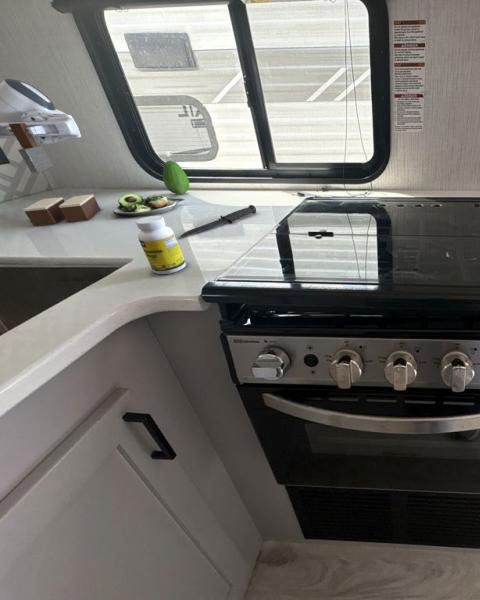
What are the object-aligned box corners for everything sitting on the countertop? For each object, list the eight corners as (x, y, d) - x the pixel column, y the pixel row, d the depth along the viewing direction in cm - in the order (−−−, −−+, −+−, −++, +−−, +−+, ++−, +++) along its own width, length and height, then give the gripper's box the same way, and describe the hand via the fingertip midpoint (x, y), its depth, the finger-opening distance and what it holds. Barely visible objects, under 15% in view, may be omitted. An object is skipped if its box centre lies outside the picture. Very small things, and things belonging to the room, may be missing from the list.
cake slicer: (40, 172, 93) (12, 124, 87) (29, 172, 93) (1, 124, 86) (55, 166, 101) (31, 121, 95) (45, 166, 100) (20, 122, 94)
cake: (88, 220, 101) (79, 203, 98) (33, 226, 96) (23, 209, 94) (100, 209, 110) (93, 194, 107) (51, 214, 106) (42, 199, 103)
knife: (250, 209, 105) (251, 202, 103) (260, 218, 104) (261, 212, 102) (170, 231, 88) (169, 224, 86) (180, 243, 87) (180, 236, 85)
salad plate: (189, 198, 120) (184, 185, 118) (183, 212, 106) (178, 197, 104) (126, 205, 114) (119, 191, 111) (111, 220, 100) (103, 205, 97)
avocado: (185, 196, 122) (173, 162, 116) (164, 196, 123) (151, 162, 116) (197, 191, 129) (186, 158, 123) (177, 191, 129) (165, 158, 123)
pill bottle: (146, 274, 70) (122, 223, 64) (169, 261, 75) (149, 213, 69) (171, 276, 68) (149, 225, 63) (193, 263, 74) (174, 215, 68)
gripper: (-10, 117, 96) (-40, 120, 86) (77, 114, 103) (59, 117, 92) (5, 141, 100) (-23, 146, 89) (87, 136, 107) (71, 141, 96)
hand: (19, 131), depth 91 cm, fingers closed on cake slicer, 2 cm apart
